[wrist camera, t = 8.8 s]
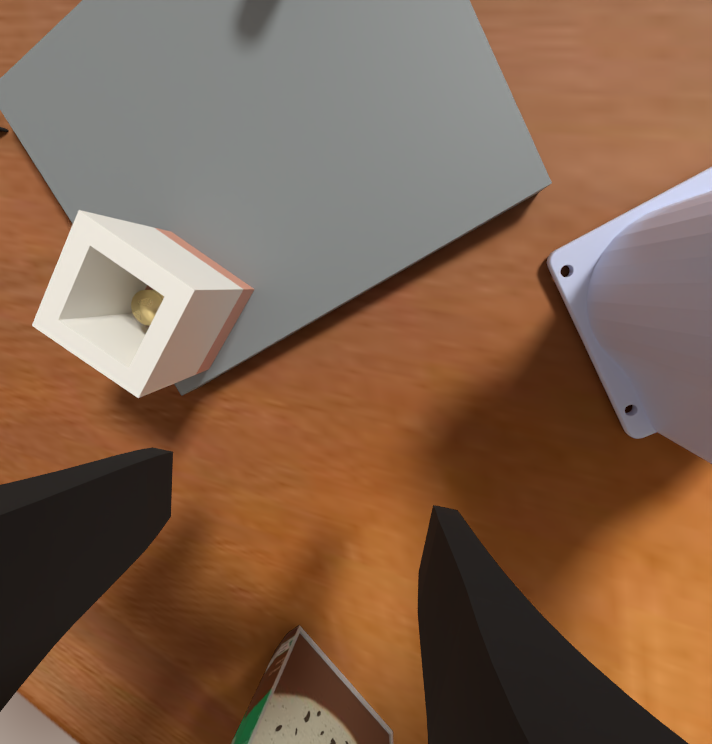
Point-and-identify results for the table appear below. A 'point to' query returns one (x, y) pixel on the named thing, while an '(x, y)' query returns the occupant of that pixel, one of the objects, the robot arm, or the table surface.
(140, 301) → the brass pin
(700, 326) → the robot arm
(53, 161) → the pin board
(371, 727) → the food container
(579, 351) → the table surface
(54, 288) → the sleeve
